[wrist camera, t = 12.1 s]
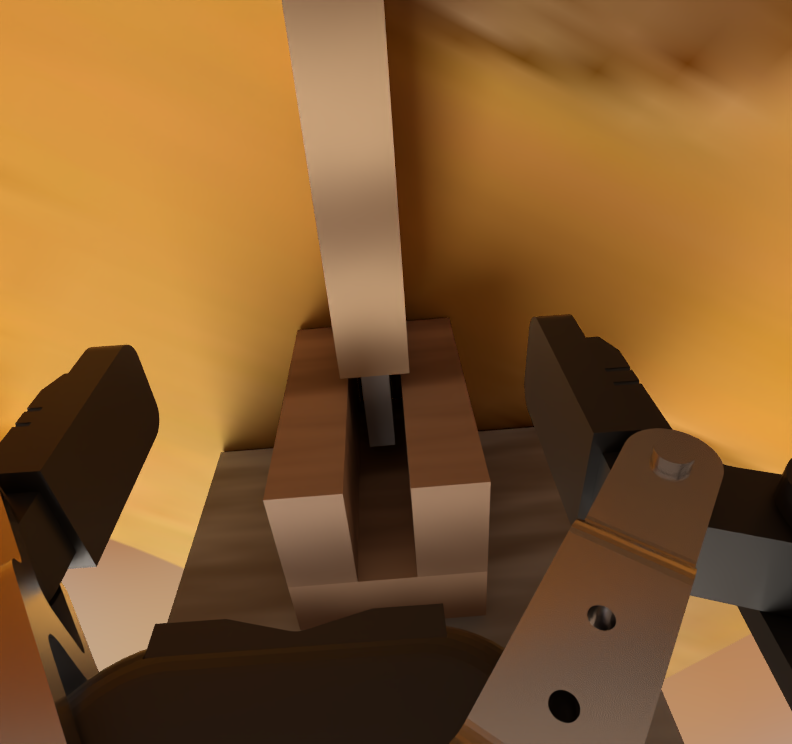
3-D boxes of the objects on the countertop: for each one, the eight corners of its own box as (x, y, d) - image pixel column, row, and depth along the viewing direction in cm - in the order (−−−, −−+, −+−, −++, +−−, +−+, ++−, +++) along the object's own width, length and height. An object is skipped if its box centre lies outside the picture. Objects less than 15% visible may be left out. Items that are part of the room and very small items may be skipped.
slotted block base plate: (184, 339, 30) (-46, 777, 13) (562, 308, 30) (811, 709, 13) (227, 471, 35) (102, 900, 19) (547, 445, 35) (710, 853, 18)
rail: (299, -13, 21) (279, -14, 16) (378, -20, 21) (381, -23, 16) (353, 376, 32) (350, 448, 27) (406, 372, 31) (414, 443, 27)
